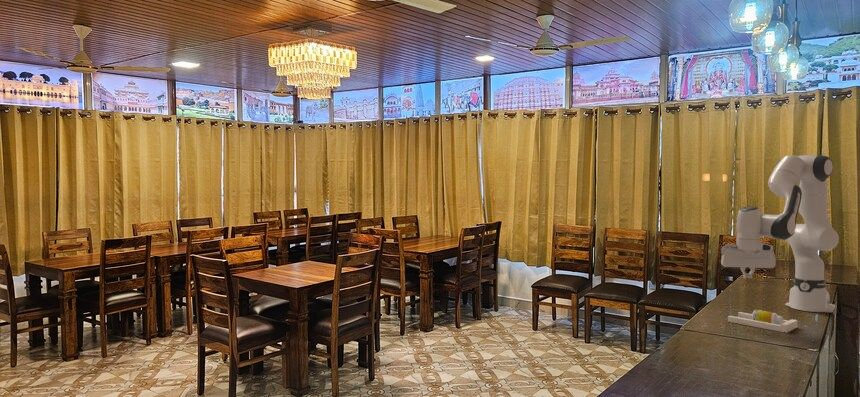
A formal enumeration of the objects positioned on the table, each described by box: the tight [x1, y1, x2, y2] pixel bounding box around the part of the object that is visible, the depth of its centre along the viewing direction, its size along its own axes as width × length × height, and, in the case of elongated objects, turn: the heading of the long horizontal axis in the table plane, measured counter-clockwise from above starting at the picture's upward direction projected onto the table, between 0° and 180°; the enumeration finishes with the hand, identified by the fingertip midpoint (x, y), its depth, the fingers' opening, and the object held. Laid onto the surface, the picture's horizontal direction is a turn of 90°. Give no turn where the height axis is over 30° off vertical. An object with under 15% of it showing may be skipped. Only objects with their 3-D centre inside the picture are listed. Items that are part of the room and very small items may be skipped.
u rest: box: [727, 311, 798, 334], centre depth 233 cm, size 12×22×3 cm, turn 39°
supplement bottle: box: [751, 309, 784, 325], centre depth 232 cm, size 6×6×10 cm
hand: (747, 277), depth 236 cm, fingers closed
